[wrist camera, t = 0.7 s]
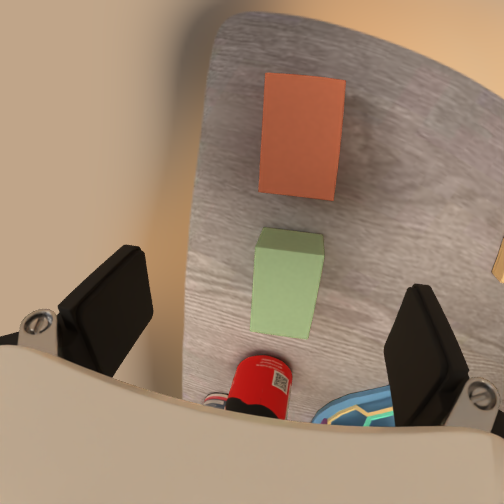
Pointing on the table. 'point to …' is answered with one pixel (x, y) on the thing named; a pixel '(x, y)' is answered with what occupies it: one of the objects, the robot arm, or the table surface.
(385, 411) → the stadium
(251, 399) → the beverage can
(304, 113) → the terracotta block
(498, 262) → the channel
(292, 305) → the sage pad
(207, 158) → the table surface
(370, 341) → the table surface
